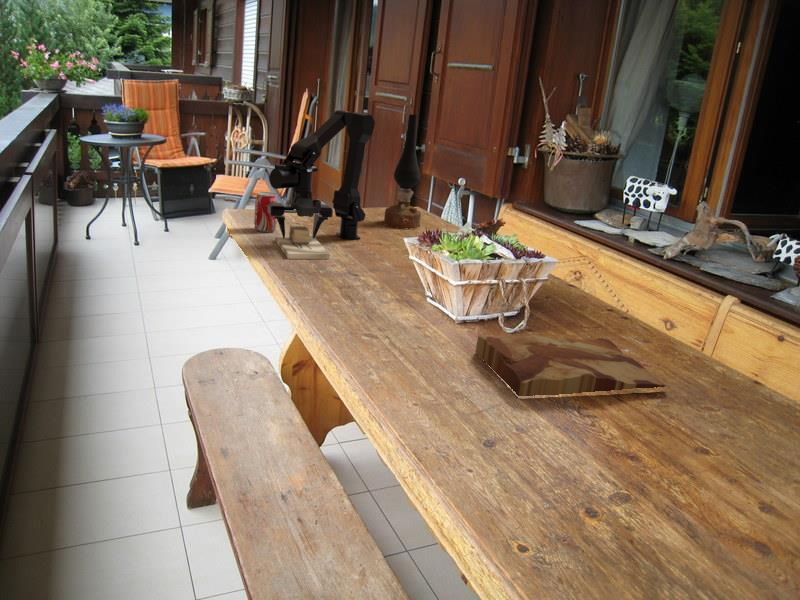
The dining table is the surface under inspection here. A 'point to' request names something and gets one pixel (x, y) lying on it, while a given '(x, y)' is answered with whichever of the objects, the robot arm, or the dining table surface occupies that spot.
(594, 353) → the decorative slab
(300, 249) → the board
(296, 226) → the block
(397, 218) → the oil lamp
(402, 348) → the dining table surface
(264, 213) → the soda can
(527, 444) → the dining table surface
